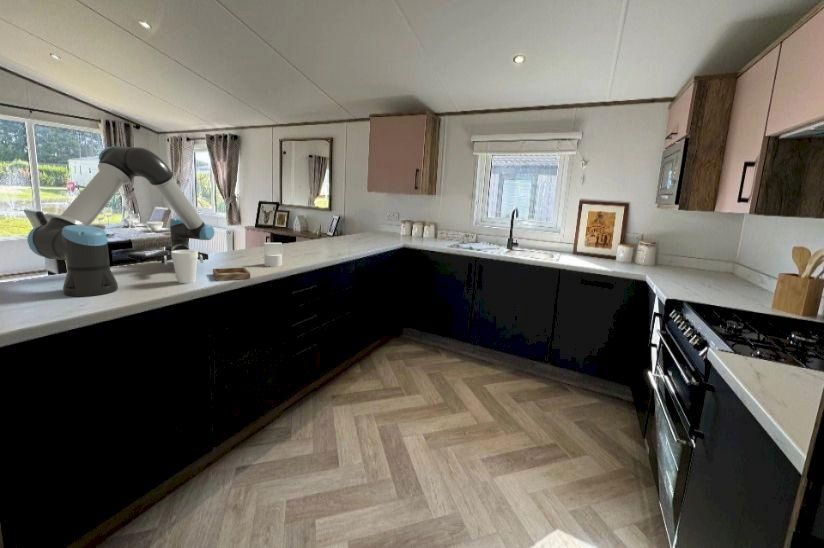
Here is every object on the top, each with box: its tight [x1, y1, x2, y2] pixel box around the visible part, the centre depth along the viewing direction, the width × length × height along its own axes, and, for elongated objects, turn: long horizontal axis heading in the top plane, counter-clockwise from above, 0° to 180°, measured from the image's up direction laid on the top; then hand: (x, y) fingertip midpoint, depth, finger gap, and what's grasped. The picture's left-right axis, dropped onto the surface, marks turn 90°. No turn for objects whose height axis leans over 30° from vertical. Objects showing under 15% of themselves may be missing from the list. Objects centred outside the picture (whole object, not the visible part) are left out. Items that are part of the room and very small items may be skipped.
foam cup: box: [170, 249, 199, 284], centre depth 155 cm, size 10×9×13 cm
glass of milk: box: [263, 242, 283, 268], centre depth 200 cm, size 9×9×12 cm
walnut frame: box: [212, 266, 251, 282], centre depth 170 cm, size 14×14×3 cm
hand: (184, 260), depth 162 cm, fingers open, 13 cm apart
